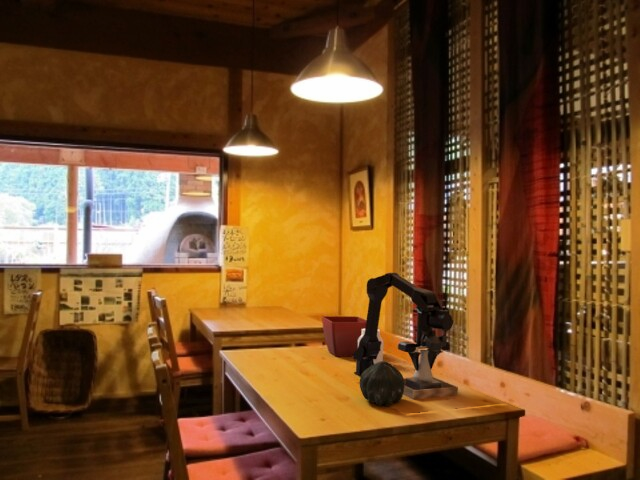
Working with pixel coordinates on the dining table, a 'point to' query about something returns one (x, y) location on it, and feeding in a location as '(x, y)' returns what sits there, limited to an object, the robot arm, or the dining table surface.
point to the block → (422, 384)
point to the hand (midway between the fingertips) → (423, 370)
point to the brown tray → (431, 391)
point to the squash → (382, 384)
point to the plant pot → (342, 333)
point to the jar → (380, 355)
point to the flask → (423, 367)
